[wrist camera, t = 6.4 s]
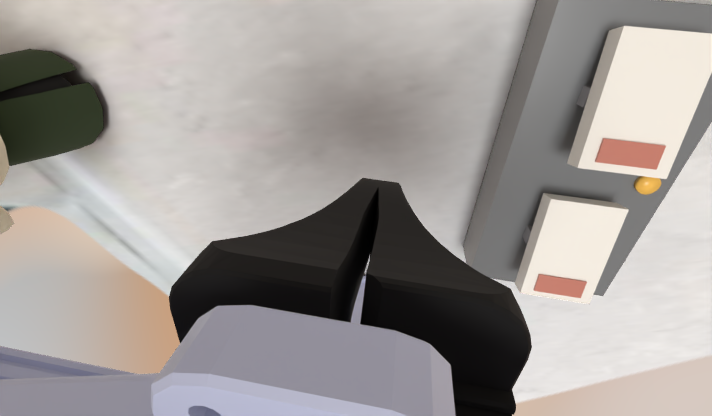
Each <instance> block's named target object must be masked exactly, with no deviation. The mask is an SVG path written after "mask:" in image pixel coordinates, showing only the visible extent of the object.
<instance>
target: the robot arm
mask: <svg viewBox="0 0 712 416" xmlns="http://www.w3.org/2000/svg"><path fill="white" fill-rule="evenodd" d="M369 255H370V262H369V266H368V269H367V273H366V276H363V275H364V272H365V268H366V265H367V262H368V259H369ZM169 302H170V310H171V313H172V316H173V320H174V324H175V327H176V330H177V334H178V337H179V340H180V345H179V346H178V348H177V349H176V350H175V352H174V353H173V355H172V356H171V357H170V359H169V360H168V362H167V363H166V365H165V366H164V367H163V369H162V370H161V372H160V373H156V374H134V373H130V372H125V371H120V370H115V369H110V368H105V367H100V366H95V365H91V364H85V363H81V362H76V361H71V360H66V359H61V358H56V357H51V356H46V355H41V354H36V353H31V352H26V351H22V350H17V349H12V348H7V347H2V346H0V416H512V414H514V413H515V410H516V404H515V400H514V396H513V392H512V388H513V386H514V384H515V383H516V381H517V379H518V377H519V375H520V373H521V371H522V370H523V368H524V366H525V364H526V362H527V360H528V358H529V354H530V351H531V348H532V346H531V338H530V333H529V330H528V327H527V324H526V321H525V319H524V316H523V314H522V312H521V309H520V307H519V305H518V303H517V301H516V299H515V297H514V295H513V293H512V291H511V289H510V288H508V287H506V286H504V285H502V284H500V283H498V282H497V281H495V280H493V279H491V278H489V277H487V276H485V275H483V274H482V273H480V272H478V271H477V270H475V269H474V268H472V267H470V266H469V265H467V264H466V263H464V262H463V261H461V260H460V259H459V258H457V257H456V256H455V255H453V254H452V253H451V252H450V251H448V250H447V249H446V248H445V247H444V246H442V245H441V244H440V243H439V242H438V241H437V240H436V239H435V238H434V237H433V236H432V235H431V234H430V233H429V232H428V231H427V230H426V229H425V227H424V226H423V225H422V223H421V222H420V221H419V219H418V218H417V216H416V215H415V213H414V212H413V210H412V209H411V207H410V205H409V203H408V202H407V200H406V198H405V196H404V194H403V191H402V189H401V186H400V185H399V183H396V182H388V181H381V180H374V179H366V178H362V179H361V180H360V181H358V182H357V183H356V184H355V185H354V186H353V187H352V188H350V189H349V190H348V191H347V192H346V193H344V194H343V195H342V196H341V197H339V198H338V199H337V200H335V201H334V202H332V203H331V204H329V205H328V206H326V207H325V208H323V209H322V210H320V211H318V212H316V213H314V214H312V215H310V216H308V217H306V218H304V219H301V220H299V221H296V222H294V223H291V224H288V225H286V226H283V227H280V228H277V229H273V230H270V231H266V232H262V233H258V234H254V235H249V236H244V237H238V238H231V239H225V240H218V241H212V242H211V243H210V244H209V245H208V246H207V247H206V248H205V249H204V250H203V251H202V252H201V253H200V254H199V256H198V257H197V258H196V259H195V260H194V261H193V263H192V264H191V265H190V266H189V267H188V268H187V270H186V271H185V272H184V273H183V274H182V275H181V277H180V278H179V279H178V280H177V281H176V282H175V284H174V285H173V286H172V288H171V292H170V296H169Z"/></svg>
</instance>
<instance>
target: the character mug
mask: <svg viewBox="0 0 712 416" xmlns="http://www.w3.org/2000/svg"><path fill="white" fill-rule="evenodd" d="M73 70H77V69H76V68H75V67H74V66H73V64H71V63H69V62H68V61H66V60H64V59H62V58H61V57H59V56H57V55H56V54H54V53H52V52H47V51H40V50H33V49H28V50H23V51H18V52H13V53H8V54H3V55H0V185H1V184H2V183H3V181H4V179H5V177H6V174H7V172H8V170H9V166H12V165H16V164H21V163H25V162H29V161H33V160H38V159H42V158H46V157H50V156H55V155H58V154H62V153H65V152H69V151H72V150H76V149H79V148H82V147H84V146H87V145H90V144H92V143H94V141H95V140H96V138H97V137H98V135H99V134H100V133H101V131H102V130H103V108H102V106H101V104H100V102H99V99H98V97H97V95H96V93H95V91H94V88H93V87H92V86H91V85H90V84H89V83H83V84H79V85H74V86H71V84H70V82H69V81H68V80H66V79H65V78H64V77H62V76H61V75H60V74H61V73H65V72H69V71H73ZM13 224H14V222H13V220H12V218H11V216H10V214H9V213H8V212H7V211H6V210H5V209H4V208H2V207H1V206H0V234H2V233H3V232H5V231H7V230H8V229H9V228H10V227H11V226H12V225H13Z"/></svg>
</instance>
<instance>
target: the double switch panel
mask: <svg viewBox="0 0 712 416" xmlns="http://www.w3.org/2000/svg"><path fill="white" fill-rule="evenodd" d="M622 26H632V27H643V28H654V29H665V30H677V31H688V32H699V33H710V34H712V5H708V4H696V3H684V2H672V1H660V0H537V2H536V5H535V8H534V12H533V15H532V18H531V22H530V25H529V28H528V32H527V35H526V38H525V42H524V45H523V48H522V52H521V55H520V58H519V62H518V65H517V68H516V72H515V75H514V78H513V82H512V85H511V88H510V92H509V95H508V98H507V102H506V105H505V108H504V112H503V115H502V118H501V122H500V125H499V128H498V132H497V135H496V138H495V142H494V145H493V148H492V152H491V155H490V158H489V162H488V165H487V168H486V172H485V175H484V178H483V182H482V185H481V188H480V192H479V195H478V198H477V202H476V205H475V208H474V212H473V215H472V218H471V222H470V225H469V228H468V232H467V235H466V238H465V242H464V245H463V248H464V253H465V258H466V263H467V265H469V266H470V267H472V268H474V269H475V270H477V271H478V272H480V273H482V274H483V275H485V276H487V277H489V278H493V279H499V280H505V281H512V282H515V281H516V278H517V274H518V271H519V268H520V265H521V262H522V259H523V256H524V252H525V249H526V246H527V243H528V240H529V237H530V233H531V230H532V227H533V224H534V221H535V218H536V215H537V211H538V208H539V205H540V202H541V199H542V196H543V193H548V194H555V195H563V196H570V197H578V198H585V199H592V200H600V201H607V202H615V203H618V204H620V205H622V206H623V207H625V208H627V209H629V211H628V213H627V215H626V218H625V220H624V223H623V225H622V227H621V230H620V232H619V234H618V237H617V239H616V242H615V244H614V246H613V249H612V251H611V253H610V256H609V258H608V261H607V263H606V265H605V268H604V270H603V273H602V275H601V277H600V280H599V282H598V284H597V287H596V289H595V292H594V295H600V296H603V295H604V293H605V292H606V290H607V289H608V287H609V285H610V284H611V282H612V281H613V279H614V277H615V276H616V274H617V273H618V271H619V269H620V268H621V266H622V265H623V263H624V261H625V260H626V258H627V256H628V255H629V253H630V252H631V250H632V248H633V247H634V245H635V244H636V242H637V240H638V239H639V237H640V236H641V234H642V232H643V231H644V229H645V228H646V226H647V224H648V223H649V221H650V220H651V218H652V216H653V215H654V213H655V212H656V210H657V208H658V207H659V205H660V204H661V202H662V200H663V199H664V197H665V196H666V194H667V192H668V191H669V189H670V188H671V186H672V184H673V183H674V181H675V180H676V178H677V176H678V175H679V173H680V172H681V170H682V168H683V167H684V165H685V164H686V162H687V160H688V159H689V157H690V156H691V154H692V152H693V151H694V149H695V148H696V146H697V144H698V143H699V141H700V139H701V138H702V136H703V135H704V133H705V131H706V130H707V128H708V127H709V125H710V123H711V122H712V73H711V75H710V77H709V80H708V82H707V85H706V87H705V89H704V92H703V94H702V96H701V99H700V101H699V104H698V106H697V108H696V111H695V113H694V115H693V118H692V120H691V122H690V125H689V127H688V130H687V132H686V134H685V137H684V139H683V141H682V144H681V146H680V149H679V151H678V153H677V156H676V158H675V160H674V163H673V165H672V167H671V170H670V172H669V175H668V177H667V179H661V178H653V177H645V176H637V175H629V174H622V173H614V172H606V171H598V170H590V169H582V168H576V167H574V166H572V165H569V164H567V162H568V158H569V155H570V152H571V149H572V146H573V143H574V140H575V136H576V133H577V130H578V127H579V124H580V121H581V117H582V114H583V111H584V108H585V105H586V102H587V99H588V95H589V92H590V89H591V86H592V83H593V80H594V76H595V73H596V70H597V67H598V64H599V61H600V58H601V54H602V51H603V48H604V45H605V42H606V39H607V35H608V32H609V30H612V29H615V28H619V27H622Z"/></svg>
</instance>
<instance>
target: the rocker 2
mask: <svg viewBox="0 0 712 416" xmlns="http://www.w3.org/2000/svg"><path fill="white" fill-rule="evenodd" d="M711 73H712V34H710V33H699V32H688V31H677V30H665V29H654V28H643V27H632V26H622V27H619V28H615V29H612V30H609V32H608V35H607V39H606V42H605V45H604V48H603V51H602V54H601V58H600V61H599V64H598V67H597V70H596V73H595V76H594V80H593V83H592V86H591V89H590V92H589V95H588V99H587V102H586V105H585V108H584V111H583V114H582V117H581V121H580V124H579V127H578V130H577V133H576V136H575V140H574V143H573V146H572V149H571V152H570V155H569V158H568V162H567V164H569V165H572V166H574V167H576V168H582V169H590V170H598V171H606V172H614V173H622V174H629V175H637V176H645V177H653V178H661V179H667V177H668V175H669V172H670V170H671V167H672V165H673V163H674V160H675V158H676V156H677V153H678V151H679V149H680V146H681V144H682V141H683V139H684V137H685V134H686V132H687V130H688V127H689V125H690V122H691V120H692V118H693V115H694V113H695V111H696V108H697V106H698V104H699V101H700V99H701V96H702V94H703V92H704V89H705V87H706V85H707V82H708V80H709V77H710V75H711Z"/></svg>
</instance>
